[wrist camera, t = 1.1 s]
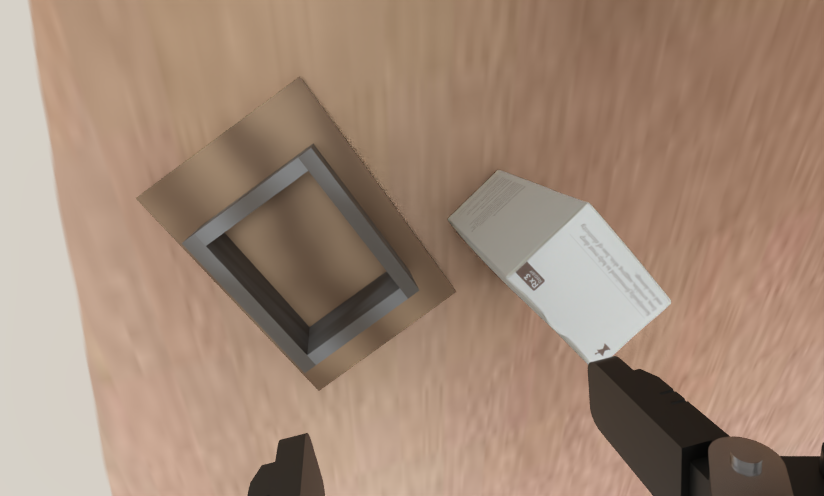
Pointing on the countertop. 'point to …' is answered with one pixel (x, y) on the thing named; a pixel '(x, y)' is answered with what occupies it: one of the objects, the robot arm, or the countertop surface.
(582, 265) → the skincare box
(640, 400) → the robot arm
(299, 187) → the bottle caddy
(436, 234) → the countertop surface
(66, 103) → the countertop surface
